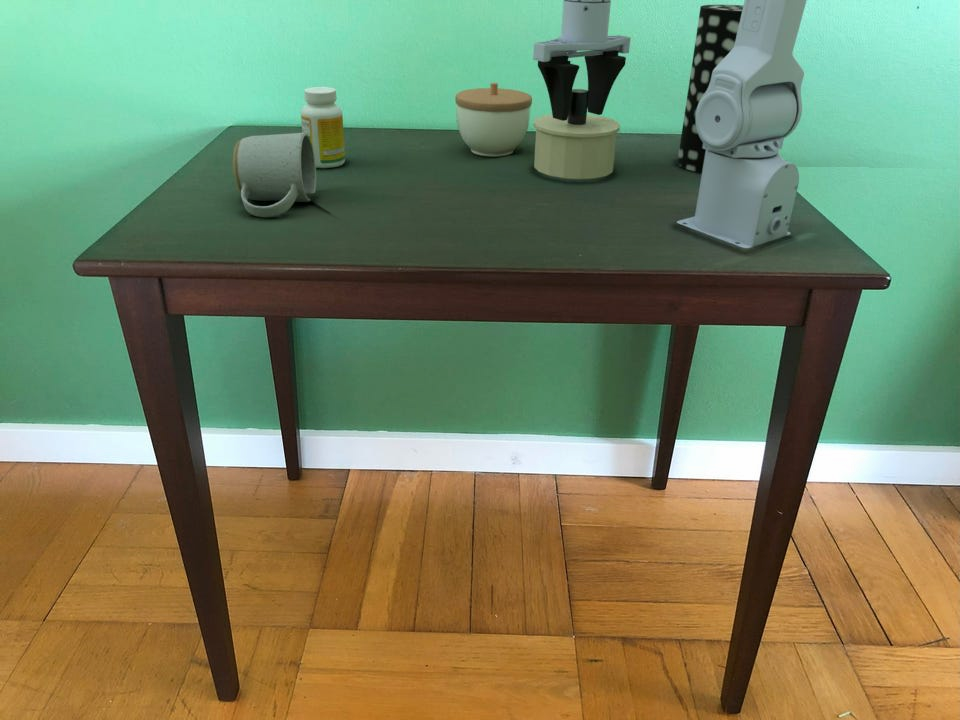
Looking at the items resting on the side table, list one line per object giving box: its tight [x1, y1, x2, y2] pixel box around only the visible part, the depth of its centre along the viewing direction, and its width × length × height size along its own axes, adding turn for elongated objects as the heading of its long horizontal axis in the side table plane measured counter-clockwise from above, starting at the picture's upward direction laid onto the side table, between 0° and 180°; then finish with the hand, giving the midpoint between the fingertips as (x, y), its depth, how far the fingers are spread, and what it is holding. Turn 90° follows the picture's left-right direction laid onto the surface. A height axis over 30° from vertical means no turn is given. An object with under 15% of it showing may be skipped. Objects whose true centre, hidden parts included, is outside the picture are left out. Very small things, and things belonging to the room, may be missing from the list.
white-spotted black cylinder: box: [676, 4, 744, 174], centre depth 102 cm, size 8×8×20 cm
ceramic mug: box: [232, 132, 317, 218], centre depth 87 cm, size 11×8×8 cm
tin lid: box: [533, 88, 621, 137], centre depth 99 cm, size 11×11×5 cm
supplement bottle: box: [300, 86, 346, 169], centre depth 102 cm, size 5×5×10 cm
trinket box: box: [454, 82, 533, 157], centre depth 109 cm, size 11×11×9 cm
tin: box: [533, 128, 618, 180], centre depth 102 cm, size 10×10×6 cm
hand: (577, 116), depth 99 cm, fingers open, 6 cm apart
